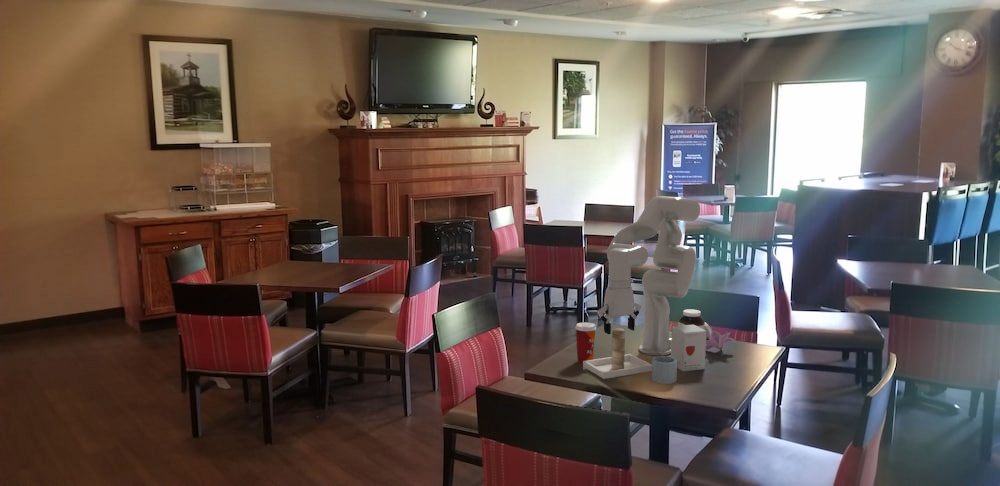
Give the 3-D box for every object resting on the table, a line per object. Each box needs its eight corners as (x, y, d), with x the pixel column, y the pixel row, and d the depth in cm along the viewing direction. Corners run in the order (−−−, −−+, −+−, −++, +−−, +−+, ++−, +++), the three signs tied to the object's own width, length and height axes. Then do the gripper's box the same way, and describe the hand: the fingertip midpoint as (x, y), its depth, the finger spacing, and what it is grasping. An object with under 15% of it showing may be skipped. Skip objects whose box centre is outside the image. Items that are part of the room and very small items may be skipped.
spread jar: (674, 338, 296) (675, 310, 294) (690, 333, 303) (691, 305, 302) (700, 344, 287) (701, 316, 285) (716, 339, 295) (717, 311, 293)
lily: (739, 355, 277) (732, 331, 280) (736, 352, 266) (729, 326, 269) (707, 362, 281) (701, 338, 284) (703, 359, 270) (697, 334, 273)
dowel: (619, 365, 260) (620, 327, 257) (626, 369, 256) (627, 330, 253) (609, 367, 258) (609, 329, 256) (615, 371, 254) (616, 332, 252)
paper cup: (594, 365, 263) (595, 328, 261) (573, 364, 265) (574, 327, 262) (596, 358, 271) (597, 322, 268) (575, 357, 272) (576, 321, 270)
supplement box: (682, 374, 254) (683, 332, 251) (669, 366, 262) (671, 325, 260) (705, 371, 256) (707, 330, 254) (692, 363, 265) (693, 323, 262)
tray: (630, 361, 267) (630, 353, 267) (653, 373, 254) (653, 365, 254) (582, 369, 259) (583, 361, 259) (603, 381, 247) (603, 373, 246)
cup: (666, 377, 251) (667, 354, 249) (681, 384, 243) (681, 361, 242) (646, 380, 248) (647, 357, 246) (661, 388, 240) (661, 364, 239)
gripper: (634, 278, 259) (634, 325, 262) (592, 284, 252) (592, 332, 255) (646, 283, 252) (646, 330, 255) (603, 289, 245) (603, 337, 248)
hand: (619, 331), depth 255 cm, fingers open, 9 cm apart
